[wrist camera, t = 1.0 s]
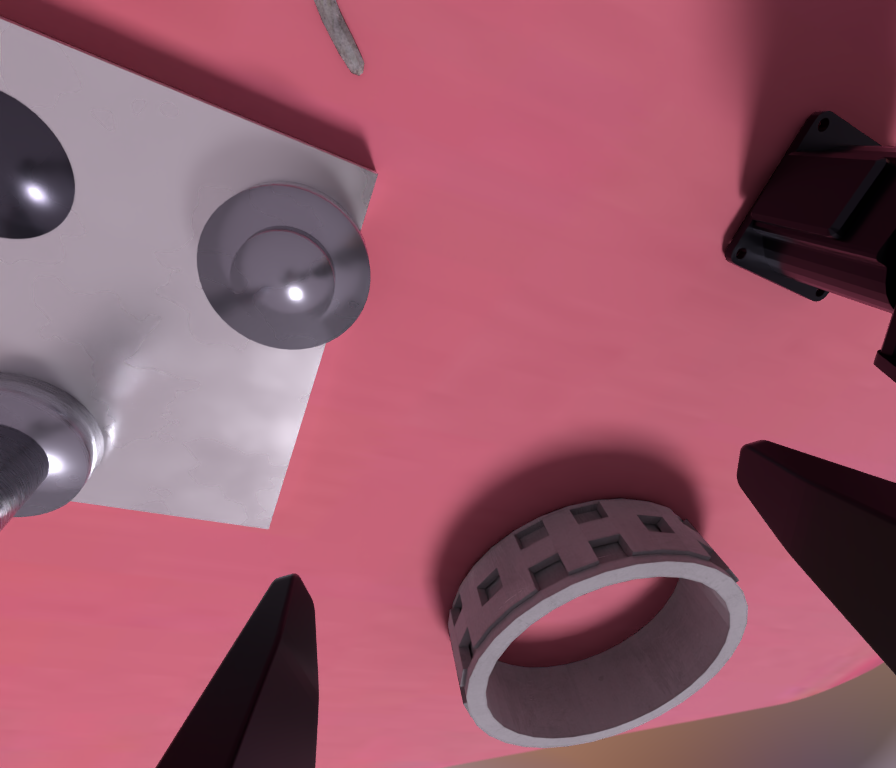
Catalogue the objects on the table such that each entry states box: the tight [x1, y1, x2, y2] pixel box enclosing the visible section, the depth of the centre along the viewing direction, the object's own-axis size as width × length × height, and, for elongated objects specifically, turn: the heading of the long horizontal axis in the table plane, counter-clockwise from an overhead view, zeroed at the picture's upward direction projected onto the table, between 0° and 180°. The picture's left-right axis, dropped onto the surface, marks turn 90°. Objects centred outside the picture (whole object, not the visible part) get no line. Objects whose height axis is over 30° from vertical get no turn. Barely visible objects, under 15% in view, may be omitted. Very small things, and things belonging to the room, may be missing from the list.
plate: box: [0, 16, 378, 529], centre depth 18 cm, size 14×17×1 cm
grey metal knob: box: [197, 181, 370, 350], centre depth 16 cm, size 6×6×2 cm
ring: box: [448, 498, 748, 748], centre depth 30 cm, size 18×18×5 cm
